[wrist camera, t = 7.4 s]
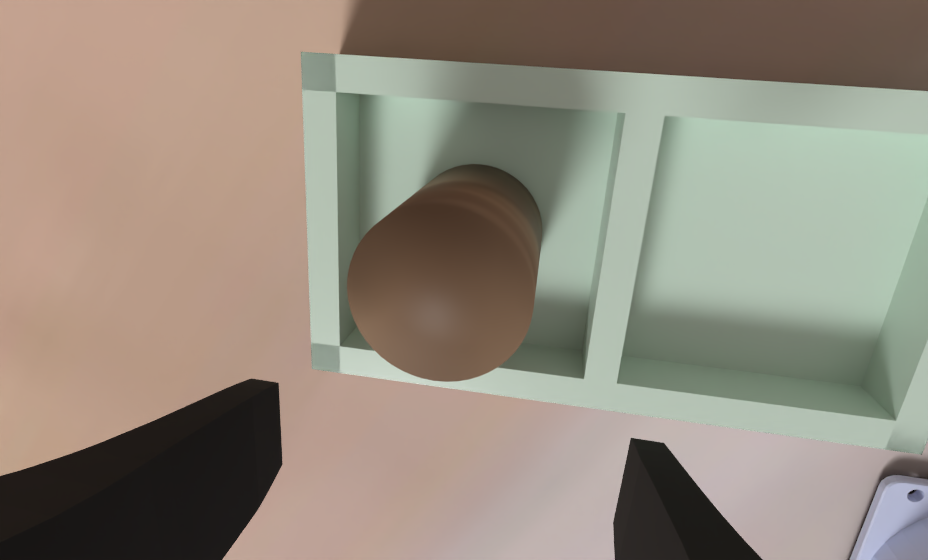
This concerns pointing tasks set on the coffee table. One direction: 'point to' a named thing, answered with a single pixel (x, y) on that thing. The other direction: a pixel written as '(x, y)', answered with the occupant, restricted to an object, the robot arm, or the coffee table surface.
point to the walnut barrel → (450, 275)
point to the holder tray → (656, 235)
